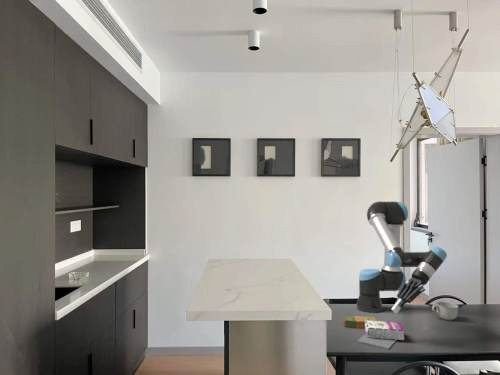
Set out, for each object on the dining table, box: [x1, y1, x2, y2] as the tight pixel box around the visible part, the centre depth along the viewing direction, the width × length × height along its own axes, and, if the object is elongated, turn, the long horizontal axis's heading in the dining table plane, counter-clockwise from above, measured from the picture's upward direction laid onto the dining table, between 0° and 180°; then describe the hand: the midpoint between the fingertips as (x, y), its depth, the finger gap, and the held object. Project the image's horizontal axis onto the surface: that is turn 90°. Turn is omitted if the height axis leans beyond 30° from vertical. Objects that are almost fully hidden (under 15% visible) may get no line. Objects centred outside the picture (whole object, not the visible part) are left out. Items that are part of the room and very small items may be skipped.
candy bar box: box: [364, 320, 405, 341], centre depth 176 cm, size 11×5×16 cm
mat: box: [356, 332, 398, 350], centre depth 170 cm, size 15×14×1 cm
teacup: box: [431, 300, 459, 321], centre depth 204 cm, size 14×11×8 cm
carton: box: [342, 315, 377, 330], centre depth 190 cm, size 8×16×4 cm, turn 80°
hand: (393, 311), depth 172 cm, fingers closed
